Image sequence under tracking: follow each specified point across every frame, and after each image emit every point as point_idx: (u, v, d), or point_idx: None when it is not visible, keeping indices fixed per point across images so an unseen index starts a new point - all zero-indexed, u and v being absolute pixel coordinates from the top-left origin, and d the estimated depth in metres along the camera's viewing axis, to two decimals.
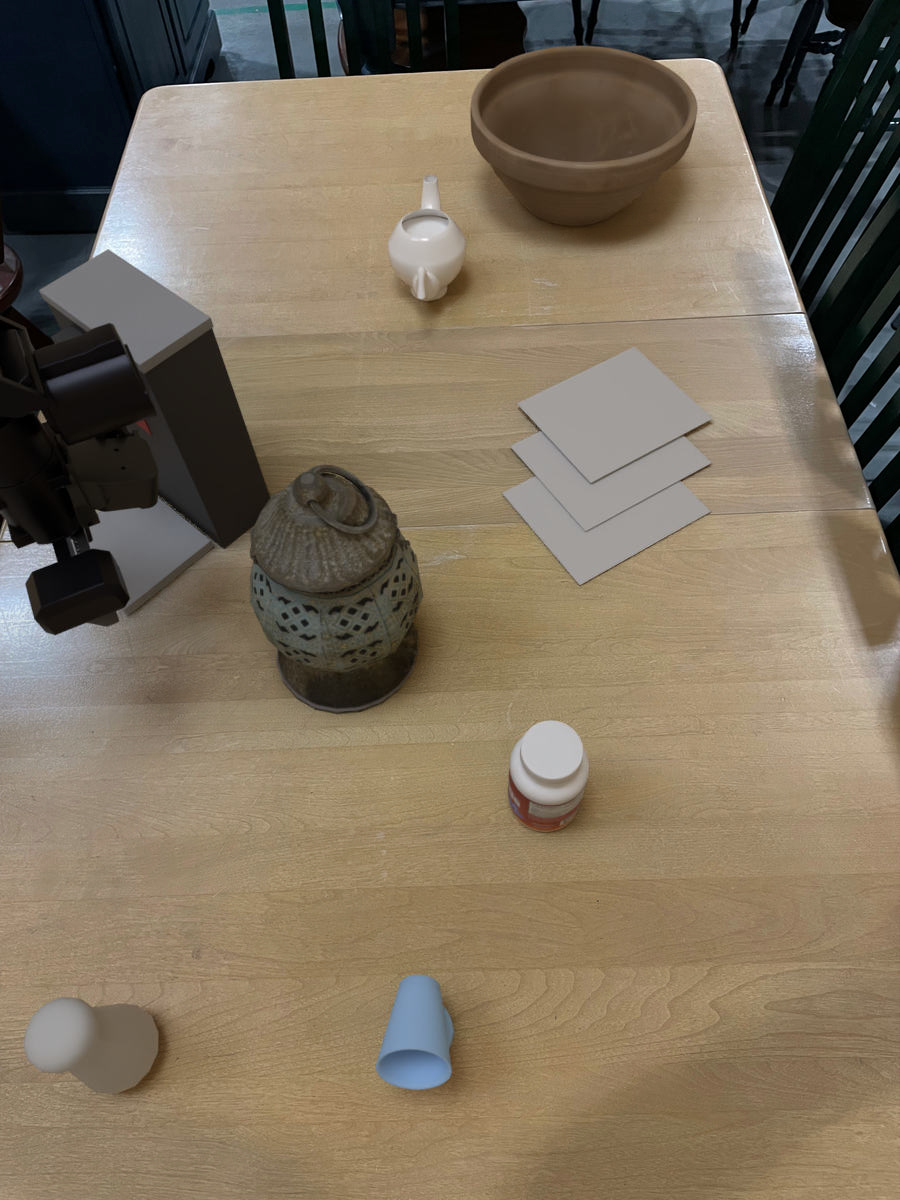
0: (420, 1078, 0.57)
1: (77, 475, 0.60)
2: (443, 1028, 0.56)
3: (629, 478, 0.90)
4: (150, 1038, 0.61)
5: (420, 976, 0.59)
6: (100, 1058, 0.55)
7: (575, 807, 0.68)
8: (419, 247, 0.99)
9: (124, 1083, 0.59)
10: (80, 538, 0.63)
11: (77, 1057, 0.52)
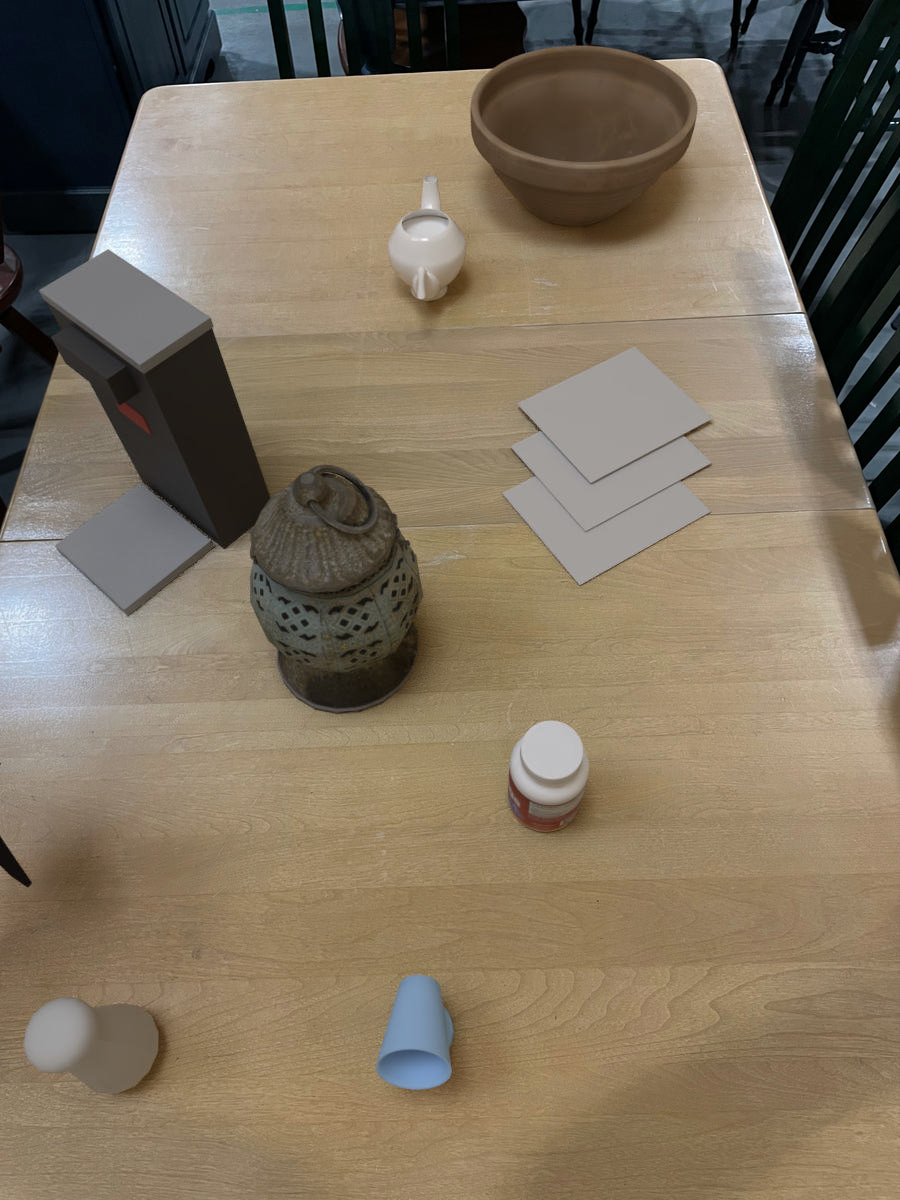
0: (420, 1078, 0.57)
1: None
2: (443, 1028, 0.56)
3: (629, 478, 0.90)
4: (150, 1038, 0.61)
5: (420, 975, 0.59)
6: (100, 1058, 0.55)
7: (575, 807, 0.68)
8: (419, 247, 0.99)
9: (124, 1083, 0.59)
10: None
11: (77, 1057, 0.52)
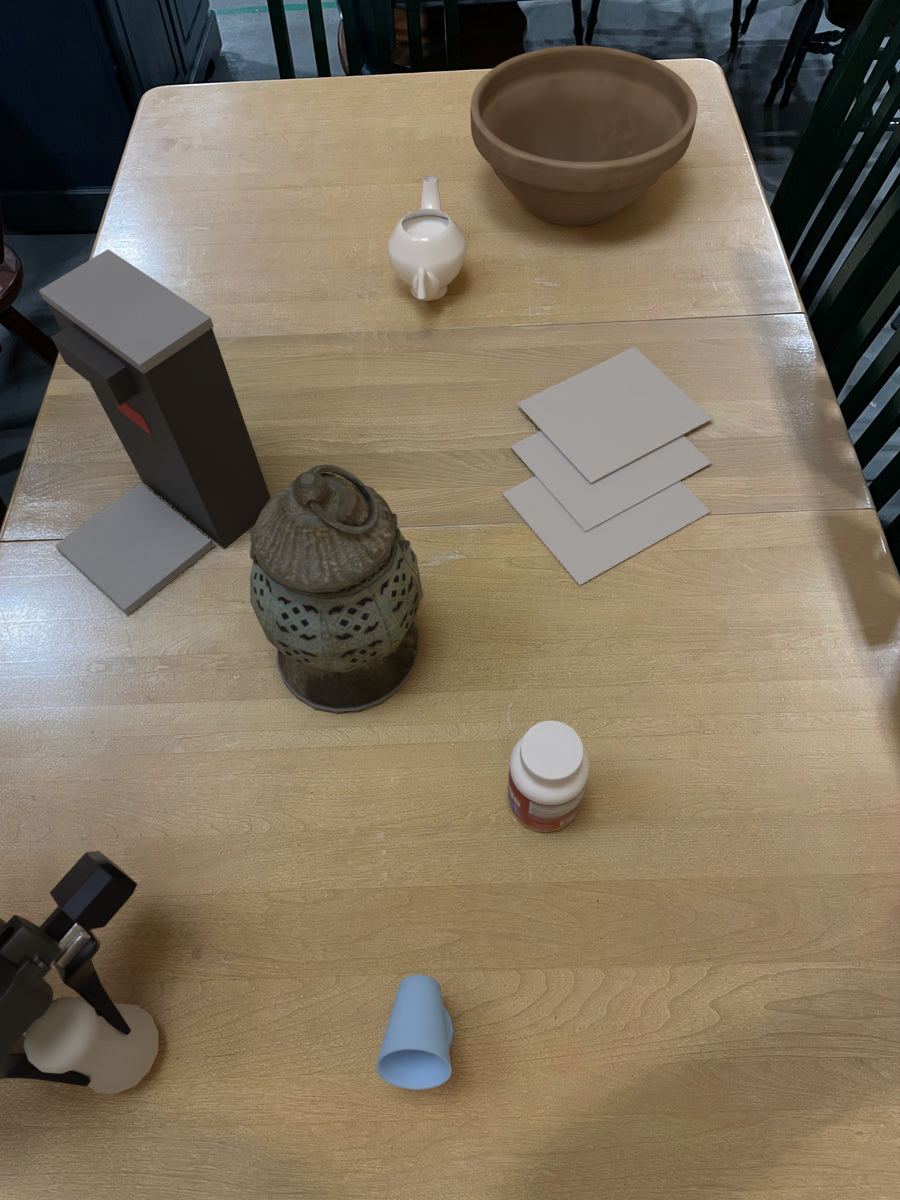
0: (420, 1078, 0.57)
1: None
2: (443, 1028, 0.56)
3: (629, 478, 0.90)
4: (150, 1038, 0.61)
5: (420, 975, 0.59)
6: (100, 1058, 0.55)
7: (575, 807, 0.68)
8: (419, 247, 0.99)
9: (124, 1083, 0.59)
10: None
11: (77, 1057, 0.52)
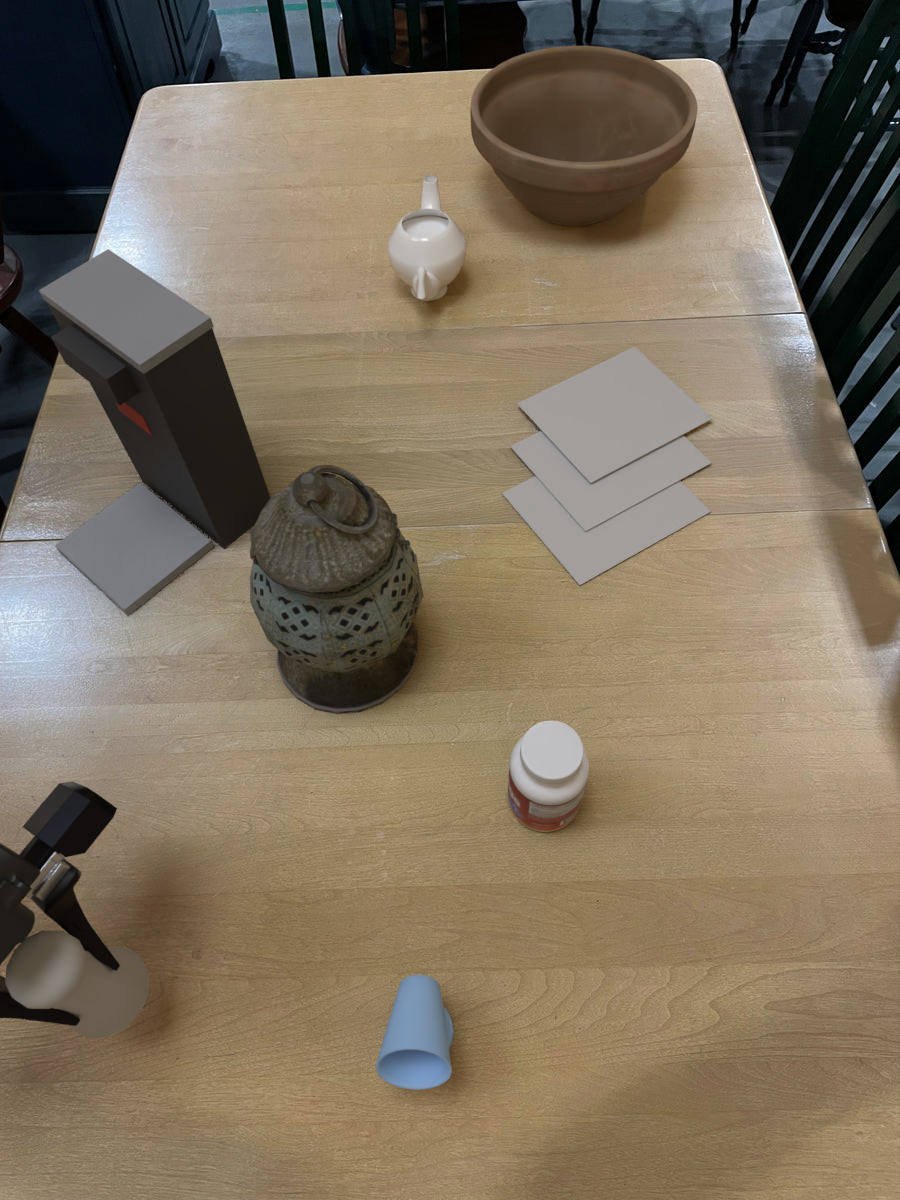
0: (420, 1078, 0.57)
1: None
2: (443, 1028, 0.56)
3: (629, 478, 0.90)
4: (140, 977, 0.57)
5: (420, 975, 0.59)
6: (88, 994, 0.52)
7: (575, 807, 0.68)
8: (419, 247, 0.99)
9: (116, 1023, 0.56)
10: None
11: (64, 989, 0.49)
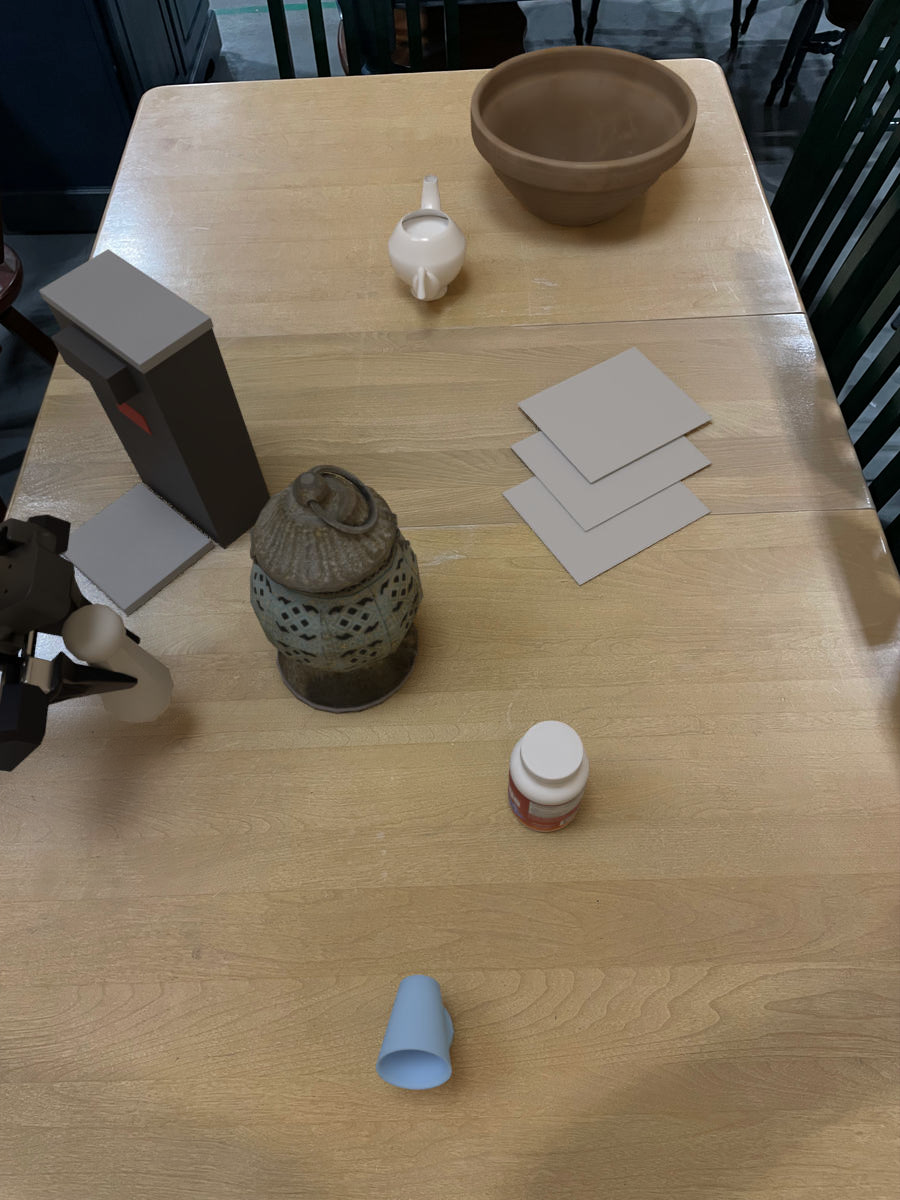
0: (420, 1078, 0.57)
1: None
2: (443, 1028, 0.56)
3: (629, 478, 0.90)
4: None
5: (420, 975, 0.59)
6: (133, 652, 0.65)
7: (575, 807, 0.68)
8: (419, 247, 0.99)
9: (162, 688, 0.69)
10: None
11: (118, 626, 0.62)
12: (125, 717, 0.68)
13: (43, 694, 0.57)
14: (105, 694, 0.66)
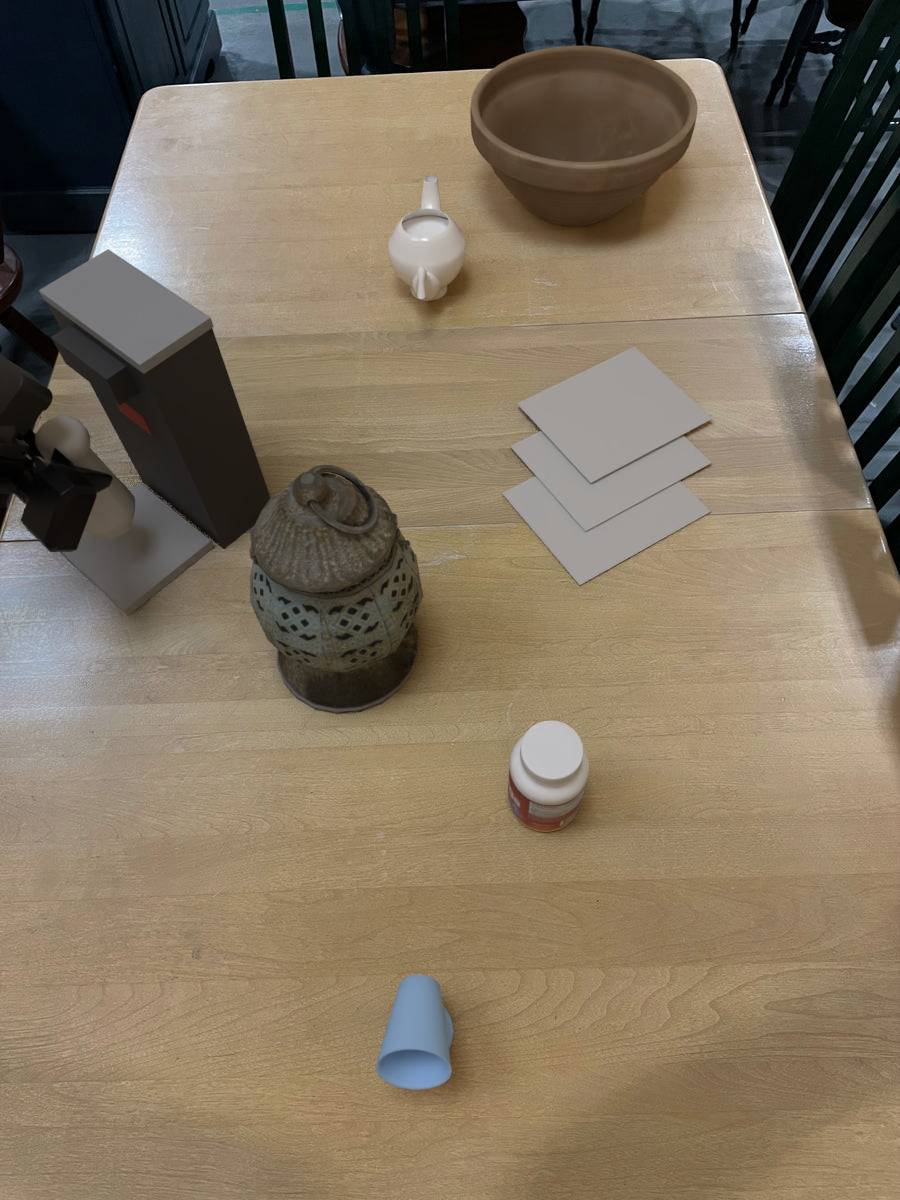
0: (420, 1078, 0.57)
1: None
2: (443, 1028, 0.56)
3: (629, 478, 0.90)
4: None
5: (420, 975, 0.59)
6: None
7: (575, 807, 0.68)
8: (419, 247, 0.99)
9: (127, 488, 0.80)
10: None
11: None
12: (113, 524, 0.79)
13: (70, 468, 0.68)
14: None
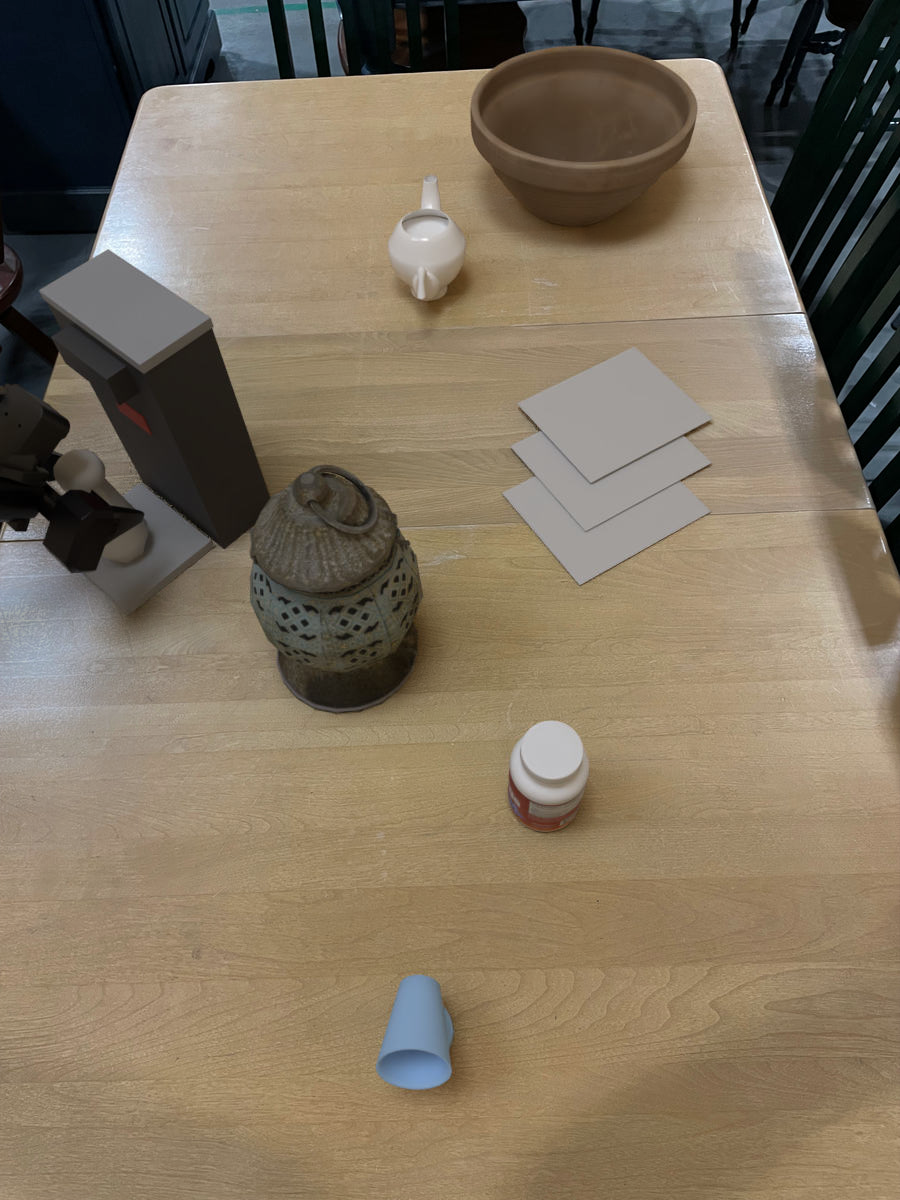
0: (420, 1078, 0.57)
1: None
2: (443, 1028, 0.56)
3: (629, 478, 0.90)
4: None
5: (420, 975, 0.59)
6: None
7: (575, 807, 0.68)
8: (419, 247, 0.99)
9: None
10: (51, 493, 0.72)
11: (96, 455, 0.77)
12: (127, 548, 0.83)
13: (89, 493, 0.71)
14: None
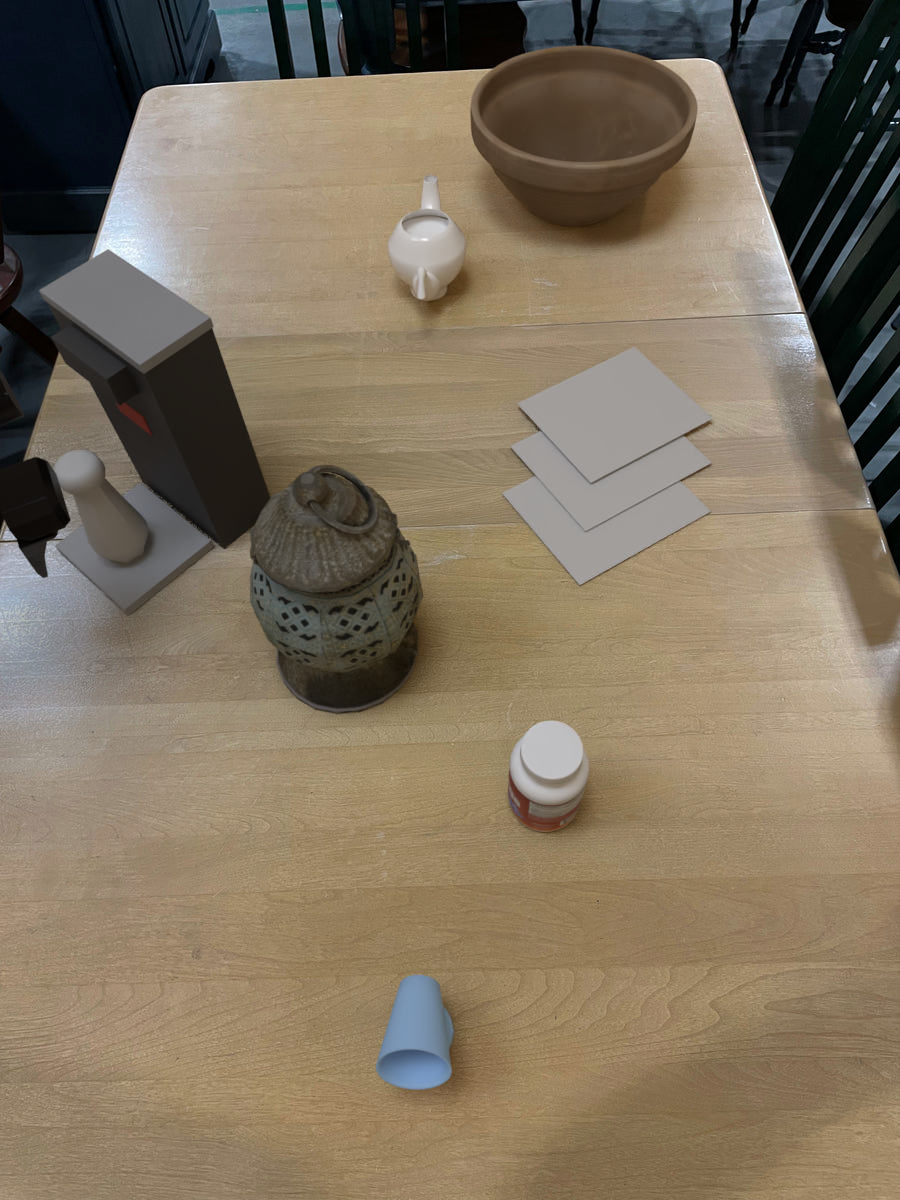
0: (420, 1078, 0.57)
1: None
2: (443, 1028, 0.56)
3: (629, 478, 0.90)
4: None
5: (420, 975, 0.59)
6: None
7: (575, 807, 0.68)
8: (419, 247, 0.99)
9: (139, 514, 0.84)
10: None
11: (96, 455, 0.77)
12: (127, 548, 0.83)
13: None
14: (106, 530, 0.81)
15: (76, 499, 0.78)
